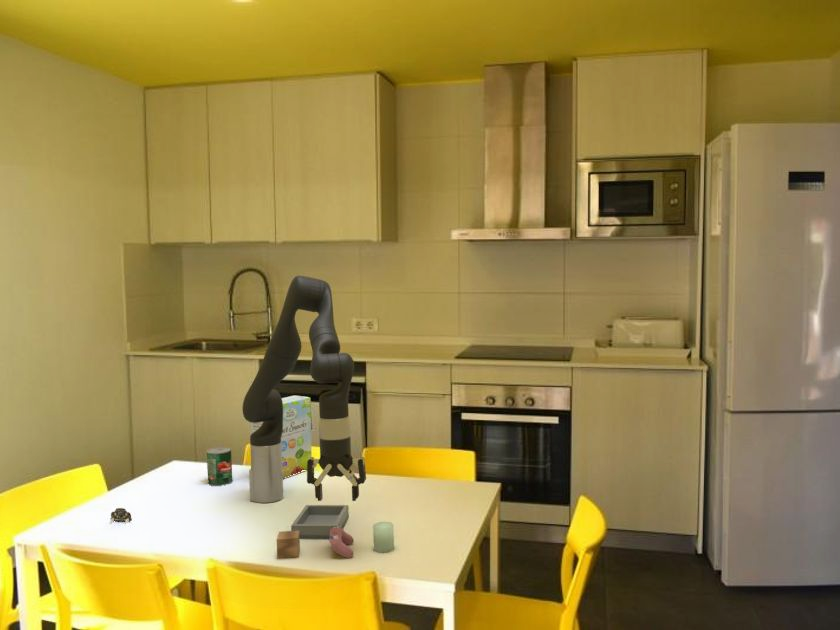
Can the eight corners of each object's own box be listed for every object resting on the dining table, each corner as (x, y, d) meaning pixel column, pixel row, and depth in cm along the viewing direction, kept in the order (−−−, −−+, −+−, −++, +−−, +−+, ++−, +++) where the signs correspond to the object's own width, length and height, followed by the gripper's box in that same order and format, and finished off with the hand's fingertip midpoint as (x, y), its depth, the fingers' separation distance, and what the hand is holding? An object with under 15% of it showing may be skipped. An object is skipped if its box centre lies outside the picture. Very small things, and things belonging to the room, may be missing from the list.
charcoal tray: (291, 538, 187) (291, 525, 187) (306, 517, 203) (306, 504, 203) (337, 539, 186) (336, 525, 186) (348, 517, 202) (348, 505, 202)
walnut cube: (277, 559, 174) (276, 539, 174) (279, 551, 179) (278, 531, 179) (298, 558, 175) (297, 538, 174) (299, 550, 180) (299, 530, 179)
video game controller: (339, 550, 183) (326, 526, 182) (355, 541, 183) (342, 517, 182) (338, 566, 173) (324, 541, 172) (355, 556, 173) (341, 532, 173)
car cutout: (103, 527, 200) (102, 512, 200) (117, 519, 207) (116, 503, 206) (152, 529, 198) (151, 513, 197) (165, 521, 204) (164, 505, 204)
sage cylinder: (372, 552, 177) (371, 528, 176) (375, 544, 182) (374, 521, 181) (392, 553, 176) (391, 529, 176) (395, 545, 181) (394, 521, 181)
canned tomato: (228, 486, 234) (227, 452, 233) (204, 486, 234) (203, 453, 233) (235, 478, 242) (234, 446, 241) (212, 479, 242) (210, 447, 241)
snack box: (269, 485, 233) (266, 407, 231) (250, 482, 238) (246, 405, 236) (314, 469, 251) (311, 396, 249) (295, 465, 256) (292, 394, 254)
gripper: (302, 438, 173) (305, 505, 174) (361, 438, 172) (363, 505, 173) (309, 431, 180) (312, 495, 181) (366, 431, 179) (368, 495, 180)
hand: (337, 500), depth 177 cm, fingers open, 8 cm apart
